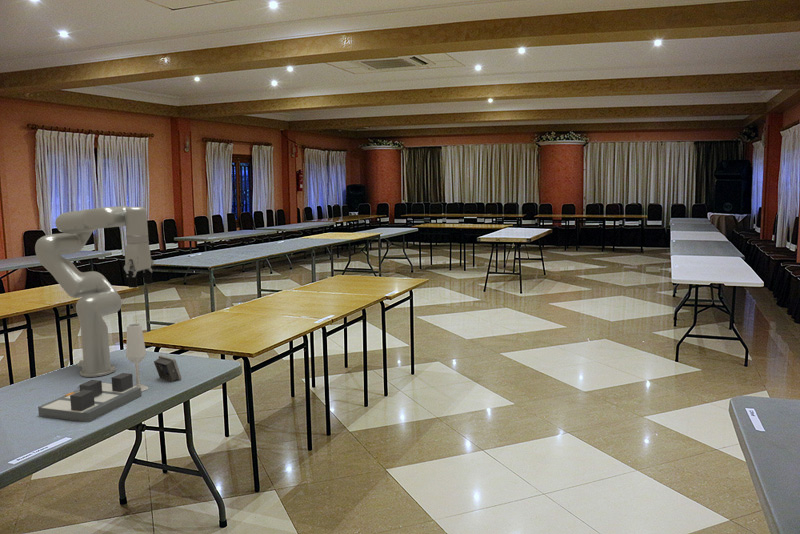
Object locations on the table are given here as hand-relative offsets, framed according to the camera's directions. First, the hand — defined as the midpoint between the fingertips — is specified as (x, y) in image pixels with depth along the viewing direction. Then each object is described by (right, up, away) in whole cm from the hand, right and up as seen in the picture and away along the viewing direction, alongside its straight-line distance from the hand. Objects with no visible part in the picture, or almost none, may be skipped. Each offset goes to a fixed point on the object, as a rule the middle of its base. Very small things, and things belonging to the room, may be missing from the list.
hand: (140, 285), depth 225 cm
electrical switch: (+9, -37, +5) cm, 38 cm away
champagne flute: (+2, -38, -6) cm, 39 cm away
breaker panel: (-7, -40, -22) cm, 46 cm away
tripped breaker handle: (-7, -37, -22) cm, 44 cm away
